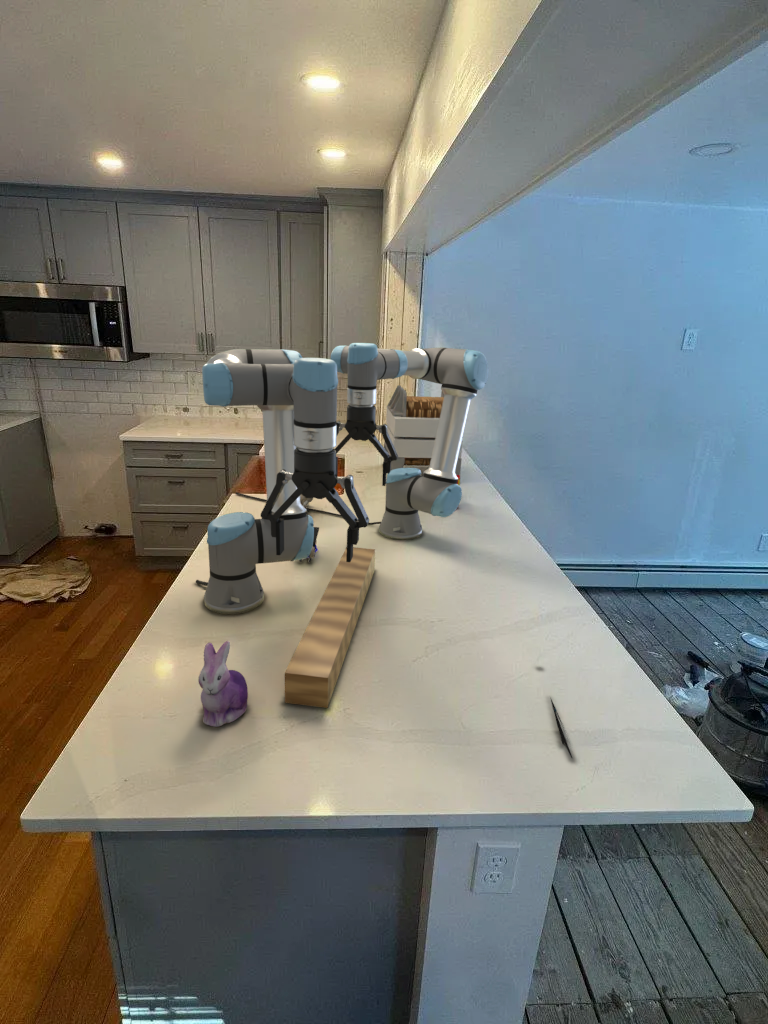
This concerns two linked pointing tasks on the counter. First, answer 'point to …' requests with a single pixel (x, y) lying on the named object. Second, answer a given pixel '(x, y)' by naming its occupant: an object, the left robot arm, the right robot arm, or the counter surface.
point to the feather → (560, 728)
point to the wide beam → (329, 632)
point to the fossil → (305, 501)
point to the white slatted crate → (414, 428)
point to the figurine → (221, 688)
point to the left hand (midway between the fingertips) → (314, 555)
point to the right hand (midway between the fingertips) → (359, 482)
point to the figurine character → (314, 547)
